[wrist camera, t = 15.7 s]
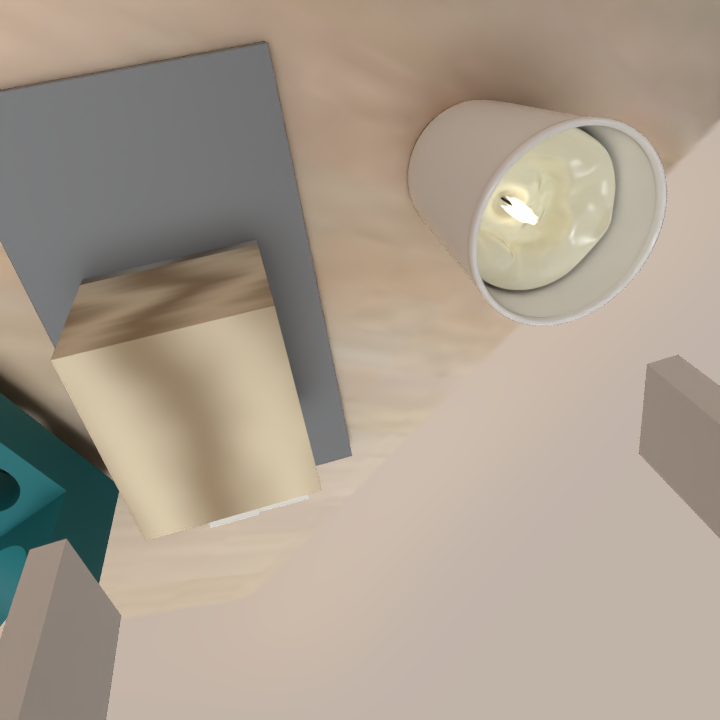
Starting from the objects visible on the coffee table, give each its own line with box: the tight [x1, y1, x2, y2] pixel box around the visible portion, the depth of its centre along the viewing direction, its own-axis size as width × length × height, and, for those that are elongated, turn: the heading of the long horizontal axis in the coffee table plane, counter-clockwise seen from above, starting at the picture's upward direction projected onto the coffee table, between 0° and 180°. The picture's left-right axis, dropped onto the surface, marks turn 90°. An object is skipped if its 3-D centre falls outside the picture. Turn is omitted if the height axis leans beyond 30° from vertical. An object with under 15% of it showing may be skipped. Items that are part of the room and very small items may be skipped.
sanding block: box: [51, 240, 322, 541], centre depth 33 cm, size 10×12×9 cm
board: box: [0, 41, 352, 466], centre depth 37 cm, size 16×28×2 cm, turn 8°
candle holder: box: [408, 99, 667, 326], centre depth 32 cm, size 10×10×12 cm
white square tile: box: [209, 508, 261, 528], centre depth 46 cm, size 4×4×1 cm
